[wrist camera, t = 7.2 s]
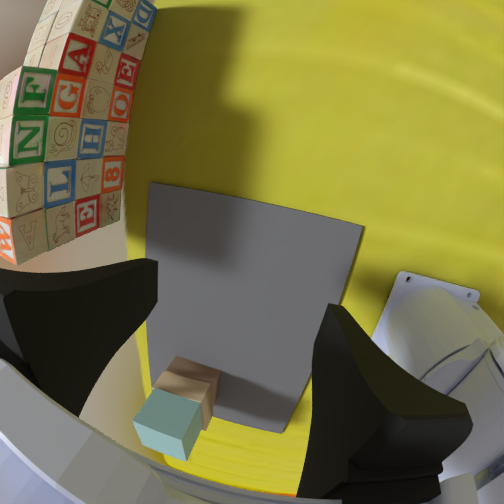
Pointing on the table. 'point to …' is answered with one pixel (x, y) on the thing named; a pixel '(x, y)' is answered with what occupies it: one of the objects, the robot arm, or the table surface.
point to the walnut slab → (196, 373)
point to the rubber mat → (243, 294)
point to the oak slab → (188, 393)
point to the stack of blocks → (68, 123)
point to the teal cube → (169, 423)
